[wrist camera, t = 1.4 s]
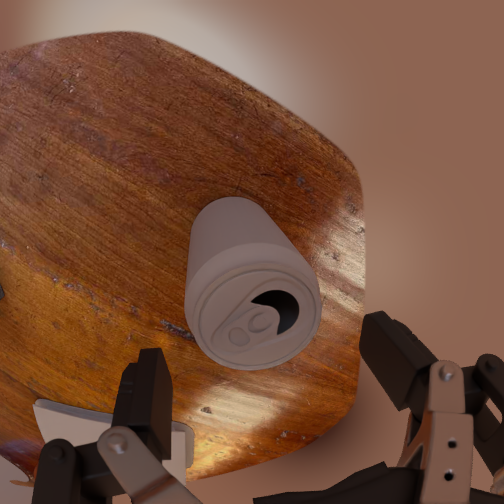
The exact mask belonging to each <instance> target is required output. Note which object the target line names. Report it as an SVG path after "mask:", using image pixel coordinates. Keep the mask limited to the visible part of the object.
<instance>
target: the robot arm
mask: <svg viewBox="0 0 504 504" xmlns="http://www.w3.org/2000/svg"><path fill="white" fill-rule="evenodd" d="M359 350H360V354H361V356H362V358H363V359H364V361H365V362H366V364H367V365H368V367H369V368H370V370H371V371H372V373H373V374H374V375H375V377H376V378H377V380H378V381H379V383H380V384H381V386H382V387H383V389H384V390H385V392H386V393H387V394H388V396H389V397H390V399H391V401H392V402H393V404H394V405H395V407H396V408H397V410H398V411H401V410H403V409H406V408H408V407H409V408H410V410H411V412H410V414H409V419H408V425H407V431H406V436H405V441H404V446H403V451H402V454H401V457H400V459H399V461H398V464H397V466H396V467H389V468H387V466H386V464H385V462H384V461H383V462H381V463H379V464H376V465H374V466H371V467H369V468H366V469H363V470H361V471H358V472H355V473H354V474H352V475H350V476H349V477H347V478H346V479H344V480H342V481H341V482H339V483H337V484H335V485H334V486H332V487H330V488H328V489H326V490H323V491H305V492H285V493H280V494H275V495H270V496H264V497H258V498H253V503H254V504H504V362H503V361H502V360H501V359H500V358H499V357H497V356H495V355H493V354H483V355H481V356H480V357H479V358H478V360H477V363H476V365H475V366H469V367H463V368H460V367H459V366H458V365H457V364H456V363H454V362H452V361H447V360H440V361H439V360H438V359H437V358H436V357H435V356H434V355H433V354H432V353H431V352H430V350H429V349H428V348H427V347H426V346H425V345H424V344H423V343H422V342H421V341H420V340H418V338H417V337H416V336H415V335H414V334H412V331H410V329H409V328H408V327H407V326H406V325H404V324H403V323H401V322H399V321H397V320H395V319H394V320H392V319H391V318H390V317H389V316H388V315H387V314H386V313H385V312H384V311H378V312H374V313H370V314H366V315H365V316H364V319H363V324H362V330H361V336H360V342H359ZM172 397H173V386H172V379H171V376H170V373H169V370H168V367H167V364H166V361H165V358H164V355H163V352H162V349H161V348H147V349H141V350H140V354H139V359H138V363H129V365H128V366H127V367H126V369H125V370H124V371H123V373H122V377H121V381H120V385H119V390H118V394H117V399H116V404H115V408H114V413H113V418H112V423H111V427H110V428H109V429H107V430H105V431H104V432H103V433H102V434H101V435H100V437H99V438H98V441H96V442H93V443H89V444H84V445H79V446H73V445H72V444H71V443H70V442H69V441H68V440H65V439H62V438H57V439H53V440H50V441H49V442H47V443H46V444H45V445H44V447H43V448H42V451H41V454H40V459H39V464H38V468H37V473H36V479H35V484H34V491H33V497H32V504H112V496H116V495H120V494H125V493H127V494H128V495H129V497H130V498H131V502H132V504H203V503H202V502H201V501H200V500H198V499H197V498H196V497H195V496H194V495H193V494H192V493H191V492H190V491H189V490H188V489H187V488H186V487H185V486H184V485H183V484H182V483H181V482H180V481H179V480H178V479H177V478H176V477H174V476H173V475H171V474H170V473H169V472H168V471H167V470H166V469H165V467H164V466H163V465H162V460H171V433H172ZM489 398H490V399H491V400H492V401H493V403H494V404H495V405H496V407H497V408H498V409H499V410H500V412H501V413H502V422H501V424H500V423H499V421H498V420H497V419H496V417H495V416H494V415H493V413H492V412H491V411H490V409H489V408H488V407H487V405H486V402H487V401H488V399H489ZM473 445H474V446H475V448H476V449H477V451H478V452H479V454H480V456H481V457H482V459H483V461H484V462H485V464H486V465H487V467H488V469H489V470H490V472H491V474H492V475H493V477H494V479H493V484H492V486H491V488H490V492H491V493H489V492H485V491H482V490H477V489H474V488H471V487H470V486H471V476H472V461H473Z"/></svg>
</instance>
